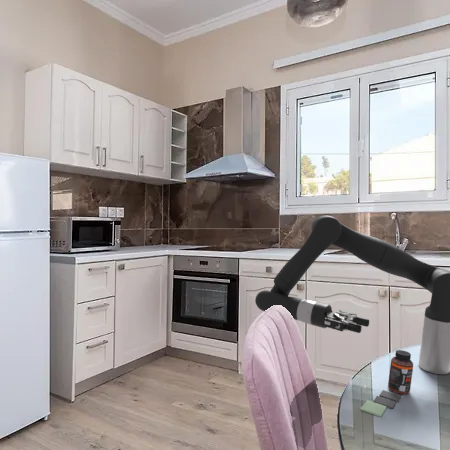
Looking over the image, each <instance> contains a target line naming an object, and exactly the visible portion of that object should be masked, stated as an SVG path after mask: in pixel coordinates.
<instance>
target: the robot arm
mask: <svg viewBox="0 0 450 450" xmlns="http://www.w3.org/2000/svg"><path fill="white" fill-rule="evenodd" d="M331 246H335V247H337V248H339V249H340V248H341V249H343V250H345V251H346V252H348V253H350V254H351V255H353V256H355V257H356V258H358V259H359V260H361V261H363V262H365V263H366V264H367V265H369V266H372V267H374V268H376V269H378V270H380V271H382V272H384V273H387V274H390V275H393V276H396V277H398V278H399V277H400V278H404V279H407V280H409V281H411V282H413V283H414V284H417V285H418V286H420V287H422V288H423V289H425V290H427V292H429V293H431V298H430V304H429V305H428V306H426V308H425V310H424V318H423V327H422V335H421V343H420V349H419V358H418V363H417V364H418V367H419V368H420V369H422V370H423V371H426V372H428V373H432V374H436V375H448V374H449V373H450V270H448V269H445V268H440V267H438V266H434V265H431V264H429V263H426V262H424V261H421V260H419V259H417V258H415V256H412V255H411V254H409V252H406V251H405V250H403V249H402V248H400V247H398V246H397V245H394V244H391V243H389V242H387V241H385V240H383V239H381V238H377V237H374V236H371V235H368V234H366V233H361V232H359V231H356V230H354V229H352V228H350V227H348V226H346V225H344V224H343V223H342V222H340V221H339V219H337V218H336V217H334V216H331V215H328V214H327V215H320V216H318V217H316V218H315V219H314V220H313V221H312V224H311V232H310V235H309V236H308V237H307V239H306V241H305V242H304V243H303V245H302V246H301V248H300V249H299V250H298V251H297V252H295V254H294V255H293V256H292V257H291V258H290V259H289V260H288V261H287V262H286V263H285V264H284V265H283V266H282V267H281V269H280V270H279V272H278V273H277V274H276V276H274V279H273V284H274V285H273V286H272V288H271V290H265V289H264V290H262V291H260V292H258V293H257V294H256V296H255V301H254V302H255V305H256V307H257V308H258V309H259V310H261V311H263V312H266V311H265V310H267V309H268V308H270V307H271V306H273V305H282V306H283V307H285V308H286V309H287V310H288V311H289V312H290V313H291V315H292V316H293V318H294V319H293V320H295V321H300V322H302V323H304V324H308V325H310V326H315V327H318V328H322V329H327V328H328V329H332V330H336V331H340V332H344V331H349V332H353V333H356V334H360V333H362V328H363V327H365V328H366V327H369V326H370V319H368V318H365V317H362V316H358V314H357V313H354V312H348V311H345V310H341V309H338V311H333V308H332V306H331V305H330V304H327V303H323V302H318V301H316V300H310V299H304V298H301V297H295V296H290V293H291V291H292V290H293V289H294V288H295V286H296V285H297V284H299V282H300V280H302V278H303V277H304V275H305V273H307V271H308V270H309V268H310V267H311V266H312V265H313V264H314V262H315V261H316V260H317V259H318V258H319V257H320V256H321V255H322V254H323V252H325V251H326V250H327V249H328V248H329V247H331Z"/></svg>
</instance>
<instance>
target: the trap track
mask: <svg viewBox="0 0 450 450" xmlns="http://www.w3.org/2000/svg"><path fill="white" fill-rule="evenodd" d="M401 399H402V394H398V393H395V392H392V391H391V392H390V391H387V390H384V389H382V391H381V393H379V395H376V396H375V398H374V399H373V401H372V400H370V399H369V400H368V399H366V400H365V402H364V403H363V405H362V406H361V407H360V411H362V412H365V413H367V414H371V415H374V416H377V417H379V418H382V416H383V415H384V413H385V411H386V410H387V408H388V409H391V410H393V409H394V408H395V406H396V404H397V403H400V401H401Z"/></svg>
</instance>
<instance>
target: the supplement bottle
mask: <svg viewBox="0 0 450 450" xmlns="http://www.w3.org/2000/svg"><path fill="white" fill-rule="evenodd" d="M411 356H412V354H411V353H410V352H409V351H406V350H404V349H403V350H402V349H396V350H395V356H392V358H391V360H390V366H389V372H388V373H389V376H388V383H387V388H388V389H389V390H390V391H391V392H392V393H394V394H397V395H408V394H410V391H411V388H412V387H411V385H412V380H413V379H412V378H413V372H414V362H413V361H412V360H411V358H412V357H411Z"/></svg>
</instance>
